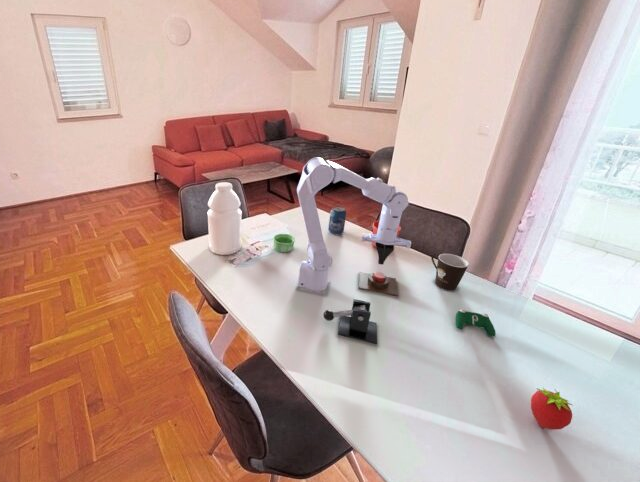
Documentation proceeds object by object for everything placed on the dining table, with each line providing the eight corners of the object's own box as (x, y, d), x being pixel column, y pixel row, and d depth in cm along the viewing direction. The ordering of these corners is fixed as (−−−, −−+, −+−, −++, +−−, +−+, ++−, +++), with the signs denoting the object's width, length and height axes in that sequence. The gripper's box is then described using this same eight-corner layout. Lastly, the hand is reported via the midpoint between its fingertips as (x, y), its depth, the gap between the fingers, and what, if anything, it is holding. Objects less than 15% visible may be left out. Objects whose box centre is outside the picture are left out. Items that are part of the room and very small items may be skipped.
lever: (324, 323, 90) (321, 315, 89) (326, 316, 92) (322, 308, 91) (367, 318, 84) (364, 309, 83) (367, 311, 87) (364, 302, 86)
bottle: (227, 236, 142) (226, 177, 131) (248, 247, 133) (249, 184, 122) (202, 246, 134) (198, 184, 122) (223, 259, 124) (221, 192, 113)
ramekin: (273, 242, 137) (273, 233, 135) (294, 243, 136) (294, 234, 134) (272, 252, 129) (272, 242, 127) (294, 253, 128) (295, 244, 126)
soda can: (328, 235, 143) (331, 210, 139) (327, 228, 150) (330, 205, 145) (344, 236, 142) (347, 211, 138) (342, 229, 149) (345, 206, 144)
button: (373, 281, 106) (373, 276, 105) (372, 275, 109) (373, 271, 108) (384, 283, 105) (385, 278, 104) (384, 277, 108) (384, 273, 107)
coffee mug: (464, 294, 104) (473, 268, 100) (436, 291, 105) (444, 265, 101) (450, 274, 114) (458, 250, 110) (424, 272, 116) (431, 248, 112)
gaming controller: (490, 337, 88) (489, 315, 91) (496, 336, 85) (495, 314, 87) (452, 329, 91) (452, 309, 93) (457, 328, 88) (457, 307, 90)
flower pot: (401, 252, 129) (406, 231, 125) (374, 252, 129) (378, 231, 125) (390, 240, 138) (394, 220, 135) (365, 240, 139) (368, 220, 135)
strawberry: (521, 430, 63) (539, 396, 59) (522, 403, 68) (539, 371, 64) (561, 451, 60) (584, 416, 56) (559, 421, 65) (580, 388, 61)
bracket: (337, 336, 87) (341, 311, 83) (339, 317, 94) (343, 293, 90) (376, 346, 83) (382, 320, 80) (375, 325, 90) (381, 301, 87)
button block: (358, 290, 106) (359, 282, 104) (359, 274, 114) (360, 267, 113) (397, 298, 102) (399, 290, 101) (395, 281, 110) (396, 274, 109)
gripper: (412, 224, 99) (403, 260, 105) (364, 217, 104) (357, 253, 109) (415, 233, 93) (405, 271, 99) (364, 226, 98) (357, 263, 103)
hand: (380, 262), depth 104 cm, fingers closed
